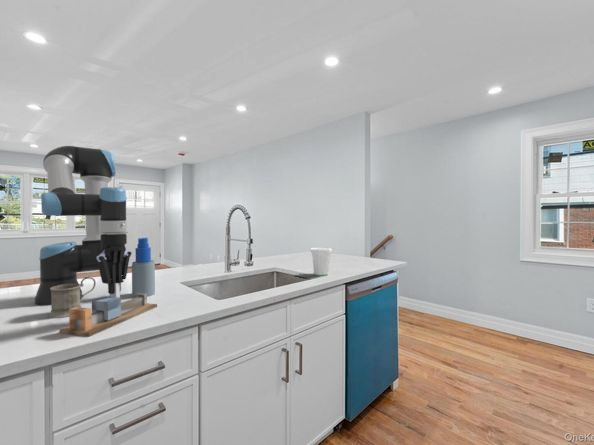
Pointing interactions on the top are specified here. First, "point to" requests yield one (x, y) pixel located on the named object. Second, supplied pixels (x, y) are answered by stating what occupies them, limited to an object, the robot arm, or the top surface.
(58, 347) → the top surface
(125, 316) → the rail board
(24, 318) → the top surface
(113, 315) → the slider
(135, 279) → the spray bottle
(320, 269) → the cup
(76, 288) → the mug
